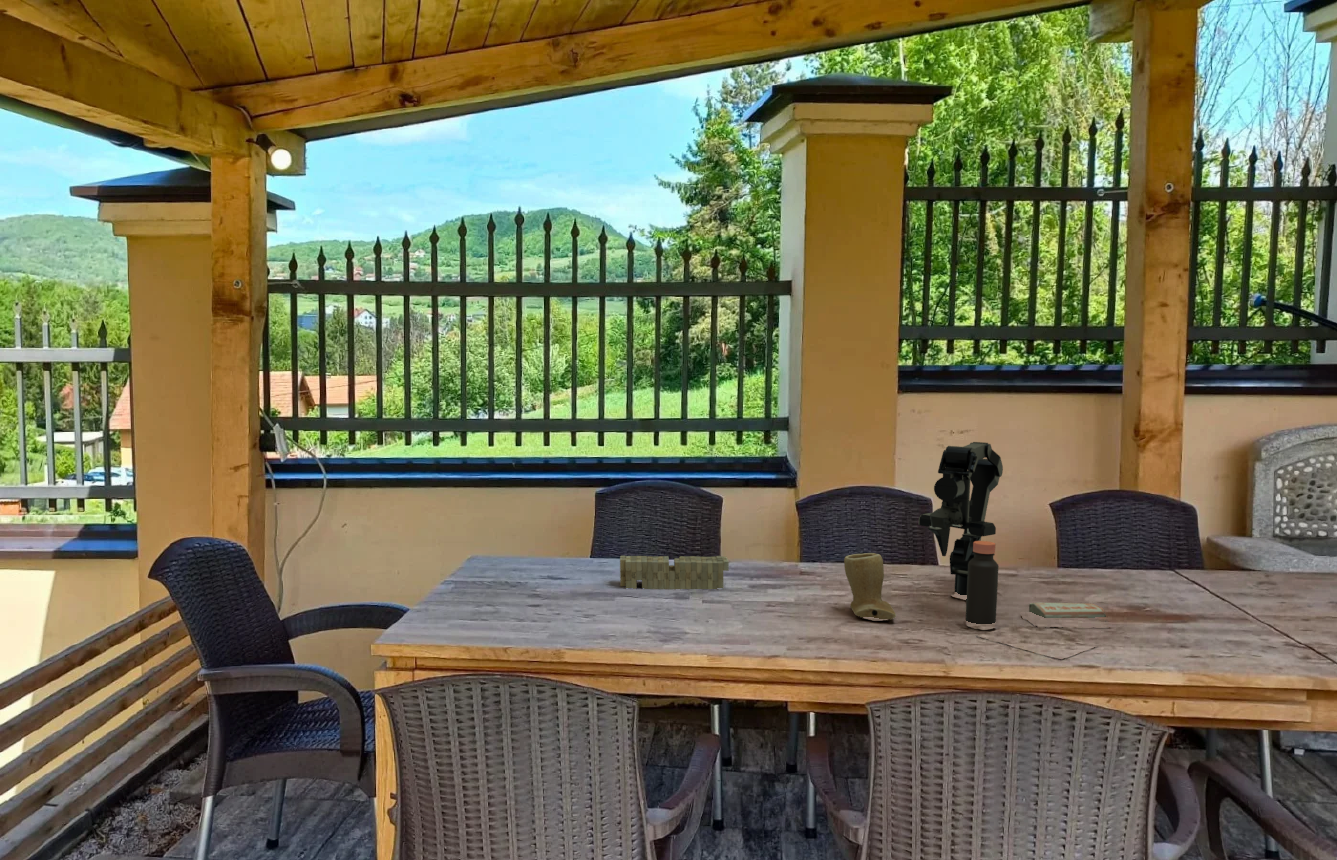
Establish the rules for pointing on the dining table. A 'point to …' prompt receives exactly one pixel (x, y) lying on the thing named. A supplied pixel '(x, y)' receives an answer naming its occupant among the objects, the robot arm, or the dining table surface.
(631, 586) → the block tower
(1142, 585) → the dining table surface
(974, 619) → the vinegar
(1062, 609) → the packaged product
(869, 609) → the olive green boot
